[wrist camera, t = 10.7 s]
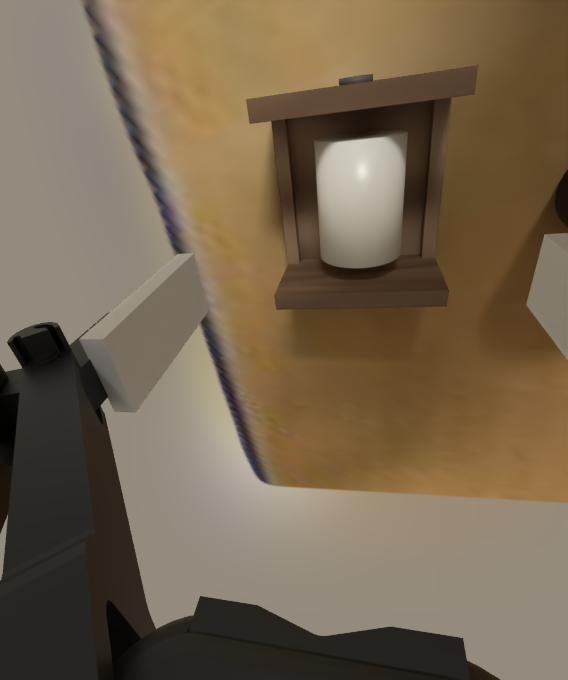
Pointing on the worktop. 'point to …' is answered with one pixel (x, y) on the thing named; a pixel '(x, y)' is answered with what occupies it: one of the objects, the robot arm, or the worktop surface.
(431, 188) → the holder
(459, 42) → the worktop surface
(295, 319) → the worktop surface
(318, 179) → the roll
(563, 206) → the coffee mug
